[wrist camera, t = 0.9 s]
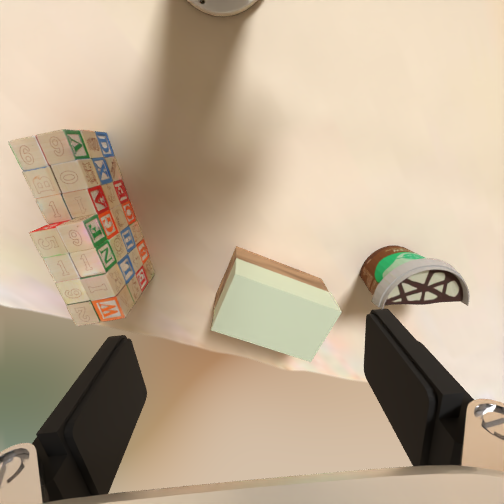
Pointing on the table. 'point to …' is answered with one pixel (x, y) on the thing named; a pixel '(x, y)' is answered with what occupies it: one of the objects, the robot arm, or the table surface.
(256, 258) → the tower base slab
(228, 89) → the table surface
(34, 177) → the stack of blocks
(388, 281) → the food container
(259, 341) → the tower top slab
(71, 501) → the robot arm
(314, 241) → the table surface
